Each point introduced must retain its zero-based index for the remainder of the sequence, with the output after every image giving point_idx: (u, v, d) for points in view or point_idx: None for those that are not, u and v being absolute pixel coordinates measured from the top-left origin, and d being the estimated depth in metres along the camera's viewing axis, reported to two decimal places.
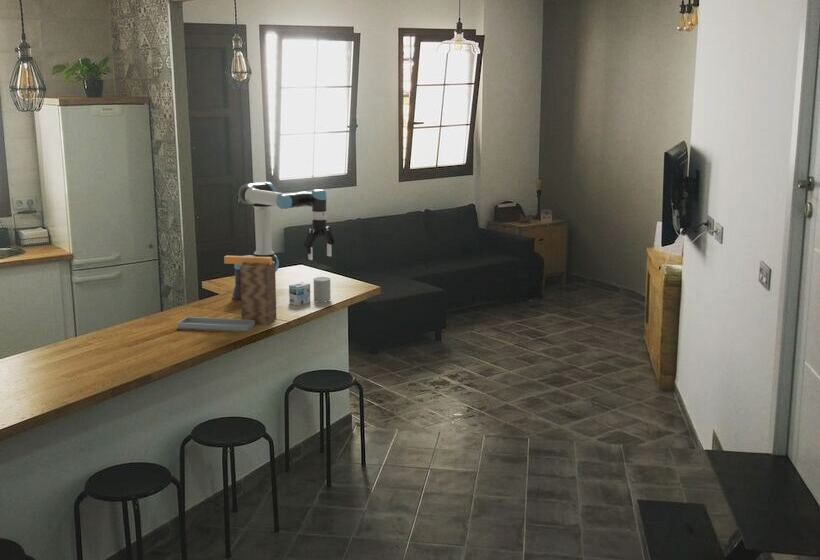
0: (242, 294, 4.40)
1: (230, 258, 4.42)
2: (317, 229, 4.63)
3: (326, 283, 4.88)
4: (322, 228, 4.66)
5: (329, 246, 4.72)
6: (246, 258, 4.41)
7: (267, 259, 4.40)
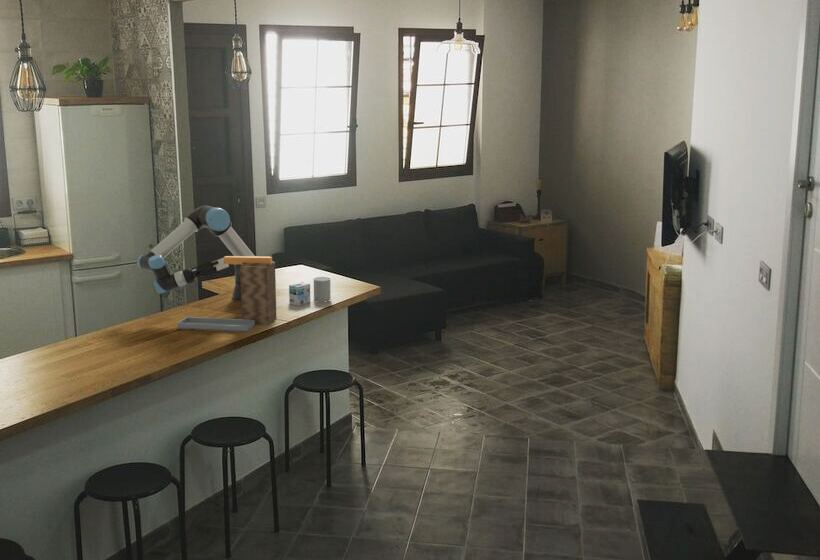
0: (242, 294, 4.40)
1: (230, 259, 4.42)
2: (196, 276, 4.52)
3: (326, 283, 4.88)
4: (193, 275, 4.48)
5: None
6: (246, 258, 4.41)
7: (267, 258, 4.40)
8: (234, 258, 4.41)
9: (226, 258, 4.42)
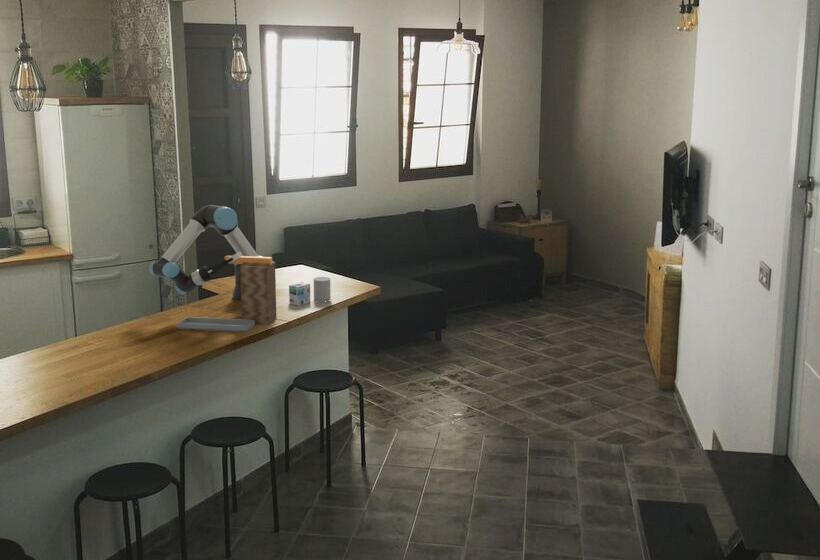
0: (242, 294, 4.40)
1: None
2: None
3: (326, 283, 4.88)
4: (209, 274, 4.46)
5: None
6: (246, 258, 4.41)
7: (267, 259, 4.40)
8: None
9: (227, 257, 4.42)
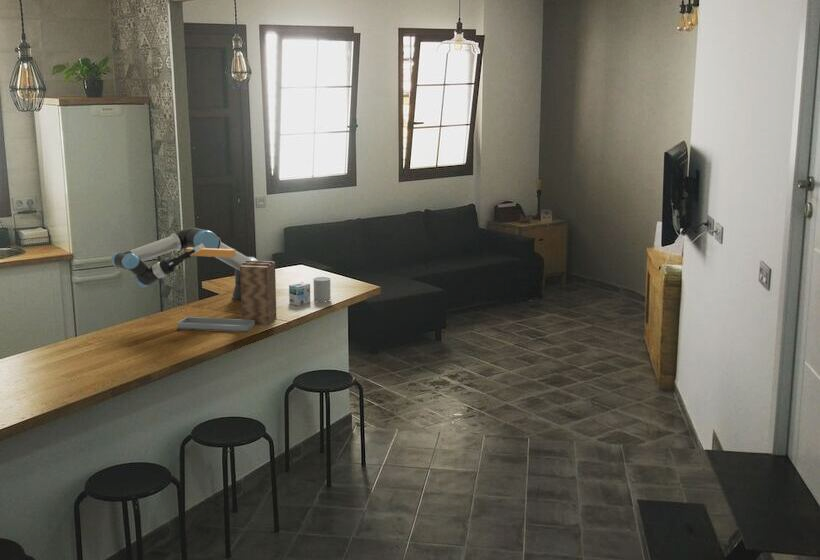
0: (242, 294, 4.40)
1: None
2: None
3: (326, 283, 4.88)
4: (170, 266, 4.32)
5: None
6: (208, 250, 4.27)
7: (230, 251, 4.26)
8: None
9: (188, 249, 4.29)
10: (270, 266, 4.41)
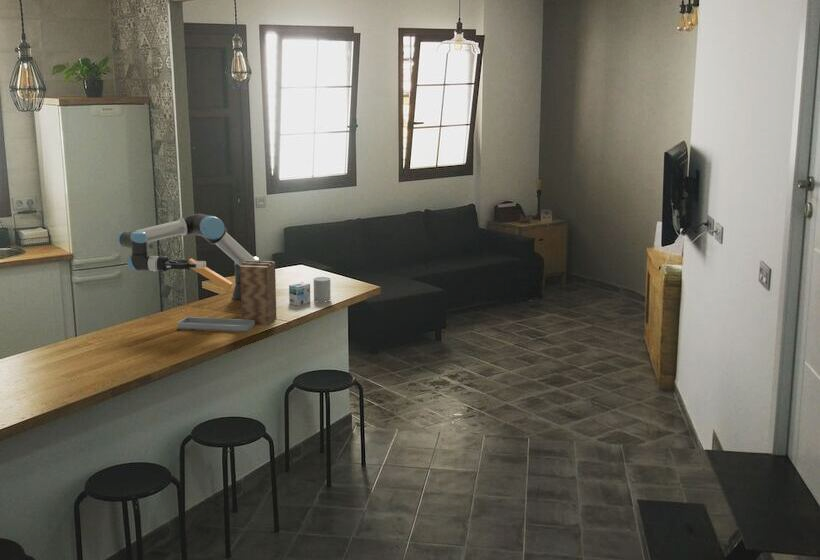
0: (242, 294, 4.40)
1: None
2: None
3: (326, 283, 4.88)
4: None
5: None
6: (209, 272, 4.30)
7: (228, 284, 4.30)
8: None
9: (191, 262, 4.30)
10: (270, 266, 4.41)
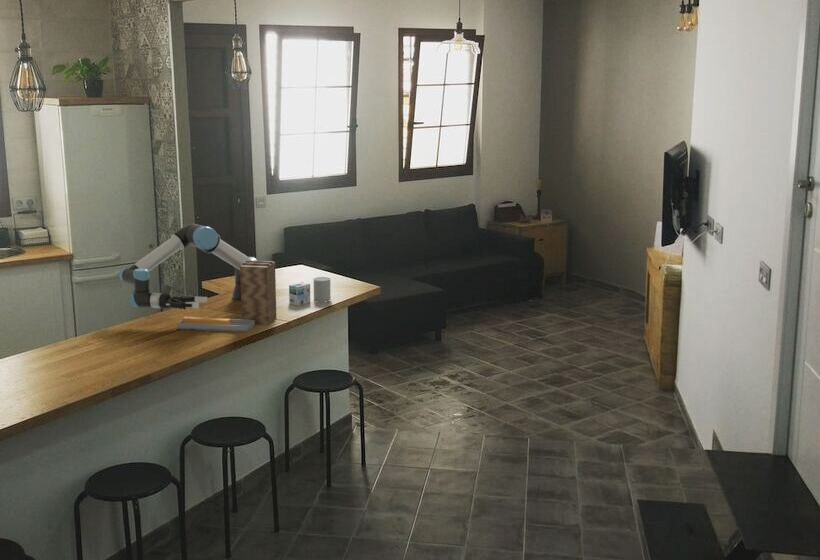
0: (242, 294, 4.40)
1: (188, 320, 4.37)
2: None
3: (326, 283, 4.88)
4: None
5: None
6: (204, 320, 4.35)
7: (225, 321, 4.34)
8: (192, 319, 4.36)
9: (184, 319, 4.37)
10: (270, 266, 4.41)
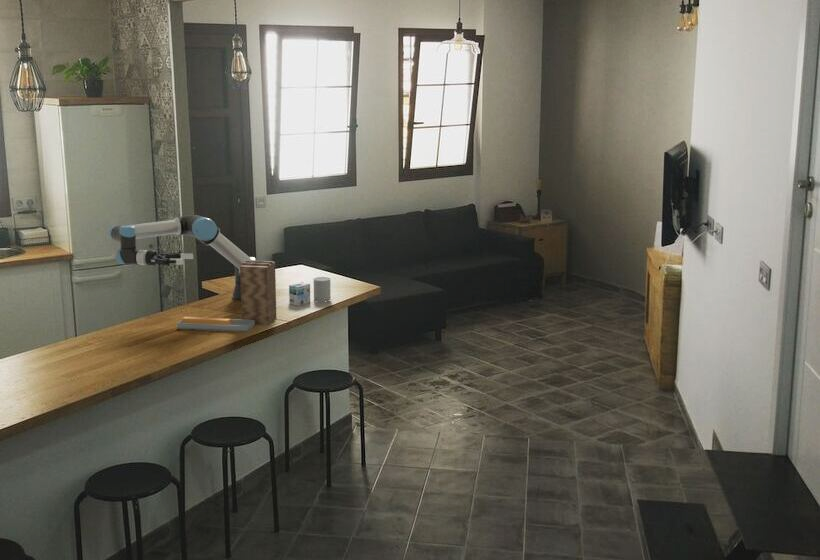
0: (242, 294, 4.40)
1: (188, 320, 4.37)
2: None
3: (326, 283, 4.88)
4: None
5: None
6: (204, 320, 4.35)
7: (225, 321, 4.34)
8: (192, 319, 4.36)
9: (184, 319, 4.37)
10: (270, 266, 4.41)
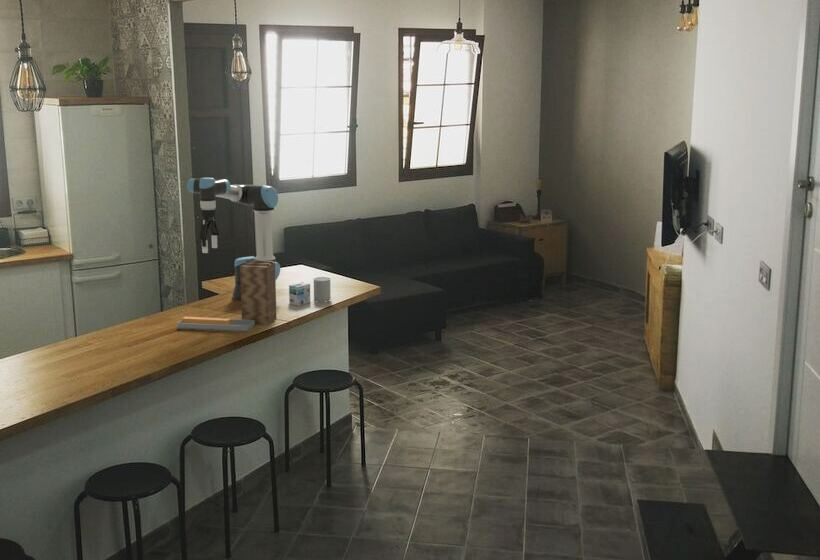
0: (242, 294, 4.40)
1: (188, 320, 4.37)
2: None
3: (326, 283, 4.88)
4: None
5: None
6: (204, 320, 4.35)
7: (225, 321, 4.34)
8: (192, 319, 4.36)
9: (184, 319, 4.37)
10: (270, 266, 4.41)
